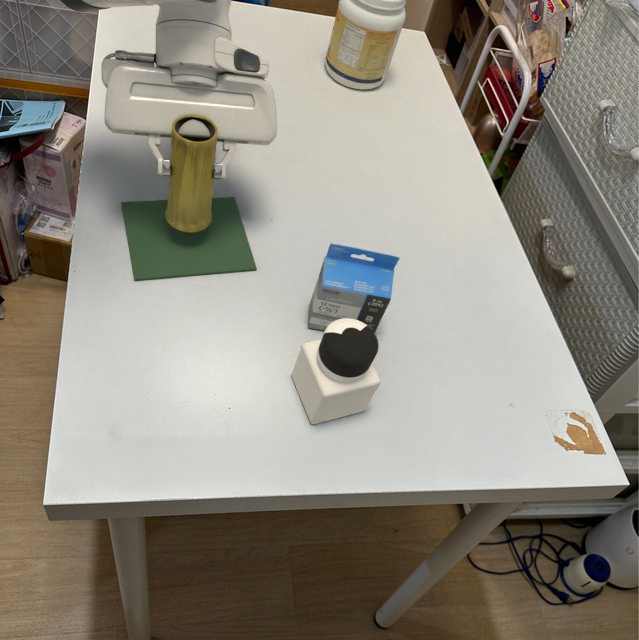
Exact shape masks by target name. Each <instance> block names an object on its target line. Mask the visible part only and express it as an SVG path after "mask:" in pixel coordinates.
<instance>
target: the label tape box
mask: <svg viewBox="0 0 639 640" xmlns="http://www.w3.org/2000/svg"><path fill="white" fill-rule="evenodd" d="M352 255H356V256H365V257H366V258H369V259H373V260H369V259H364V258H360V257H359V258H358V257H353V256H352ZM400 260H401V258H400V257H399V256H397V255H392V254H388V253H384V252H378V251H375V250H369V249H366V248H365V249H364V248H360V247H356V246H355V247H353V246H350V245H344V244H338V243H335V242H330V244H329V246H328V248H327V252H326V255H325V256H324V257H323V261H322V264H321V267H320V271H319V274H318V277H317V279H316V283H315V285H314V289H313V293H312V296H311V298H310V302H309V305H308V319H307V328H308V329H313V330H320V331H325V330H326V328H327V327H328V325H329V324H330V323H332V322H333V321H335V320H338V319H343V318H349V319H355V320H358V321H361V322H363V323H364V324H366V325H367V326H368V327H369V328H371V330H372V331H373V332H374V333H375V334H376V331H377V329H378V327H379V325H380V323H381V321H382V319H383V317H384V315H385V313H386V311H387V308H389V305H390V303H391V301H392V294H393V287H394V277H395V268H396V266H397V264H398V262H399V261H400Z"/></svg>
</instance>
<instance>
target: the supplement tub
mask: <svg viewBox="0 0 639 640" xmlns="http://www.w3.org/2000/svg"><path fill="white" fill-rule="evenodd" d="M406 4H407V0H338V4H337V5H338V6H337V10H336V14H335V17H334V18H335V19H334V22H333V27H332V31H331V35H330V39H329V44H328V48H327V51H326V54H325V69H326V71H327V72H328V74H329V75H330V77H331V78H332V79H333V80H335V81H336V82H337V83H339V84H341V85H343V86H345V87H347V88H351V89H354V90H355V89H356V90H372V89H375V88H378V87H379V86H380V85H382V84H383V83H384V81H385V80H386V77H387V74H388V72H389V69H390V66H391V62H392V59H393V56H394V53H395V50H396V48H397V44H398V42H399V38H400V35H401V33H402V29H403V26H404V24H405V22H406V9H405V6H406Z"/></svg>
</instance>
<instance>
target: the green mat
mask: <svg viewBox="0 0 639 640" xmlns="http://www.w3.org/2000/svg"><path fill="white" fill-rule="evenodd" d="M167 203H168V199H155V200H130V201H121V203H120V204H121V209H122V215H123V221H124V228H125V233H126V240H127V246H128V251H129V256H130V263H131V268H132V274H133V279H134V282H139V281H150V280H163V279H173V278H185V277H196V276H197V277H198V276H207V275H208V276H209V275H220V274H231V273H243V272H254V271H257V270H258V268H257V265H256V262H255V258H254V255H253V251H252V249H251V246H250V245H251V244H250V243H249V239H248V236H247V233H246V230H245V226H244V223H243V220H242V217H241V213H240V210H239V207H238V204H237V201H236V198H235V196H227V197H226V196H224V197H223V196H222V197H212V206H211V213H212V221H211V223H210V225H209V226H208V227H207V228H206V229H204V230H202V231H199V232H193V233H188V232H182V231H179V230H177V229H175V228H173V227H172V226H171V225H170V224H169V223H168V221H167V220H166V217H165V212H166V209H167Z"/></svg>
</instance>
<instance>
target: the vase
mask: <svg viewBox="0 0 639 640" xmlns="http://www.w3.org/2000/svg"><path fill="white" fill-rule="evenodd" d="M189 120H197V121H199V122H202V123H203V124H204V125H205V126H206V127H207V129H208V130H209V132H210V138H199V137H187V136H180V135H179V134H178V131H179V129H180V128H181V126H182V125H183V124H184V123H186V122H187V121H189ZM217 135H218V129H217V127H216V125H215V124H214V122H213V121H211V120H210V119H208V118H206V117H204V116H200V115H184V116H180V117H178V118H177V119H175V121H174V122H173V124H172V134H171V138H170V155H169V160H171V166H170V176H168V193H167V194H168V195H167V200H168V203H167V209H166V212H165V217H166V220H167V221H168V223H169V224H170V225H171V226H172V227H173V228H175V229H177V230H179V231H182V232H188V233H193V232H199V231H202V230H204V229H206V228H207V227H208V226H209V225H210V223H211V221H212V213H211V206H212V198H213V192H214V179H213V177H214V164H216V153H217V145H218V144H217V143H218V142H217Z"/></svg>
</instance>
